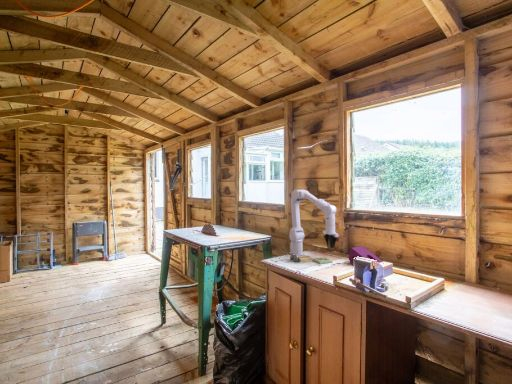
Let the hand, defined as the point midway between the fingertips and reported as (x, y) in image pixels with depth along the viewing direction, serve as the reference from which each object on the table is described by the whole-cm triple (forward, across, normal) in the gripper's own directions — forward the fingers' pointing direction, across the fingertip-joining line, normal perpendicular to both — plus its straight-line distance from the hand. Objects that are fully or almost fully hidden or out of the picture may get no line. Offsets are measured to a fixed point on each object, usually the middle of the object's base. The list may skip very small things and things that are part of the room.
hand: (330, 247), depth 179 cm
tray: (+8, 0, -6) cm, 10 cm away
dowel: (+1, 0, 0) cm, 1 cm away
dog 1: (+8, -11, -20) cm, 25 cm away
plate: (+9, -8, -14) cm, 19 cm away
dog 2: (+8, -6, -20) cm, 23 cm away
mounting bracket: (+9, +17, +13) cm, 23 cm away
